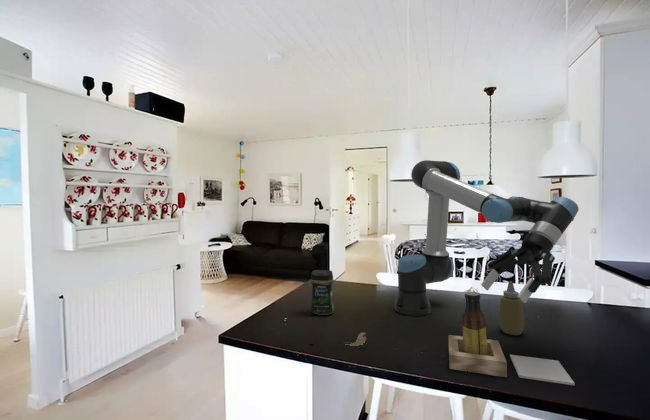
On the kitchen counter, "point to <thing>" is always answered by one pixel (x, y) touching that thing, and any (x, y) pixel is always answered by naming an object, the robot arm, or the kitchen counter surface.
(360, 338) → the jawbone
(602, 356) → the kitchen counter surface
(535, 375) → the grey mat
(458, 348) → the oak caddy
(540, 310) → the kitchen counter surface
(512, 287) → the squeeze bottle
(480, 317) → the sauce bottle
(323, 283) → the coffee jar
